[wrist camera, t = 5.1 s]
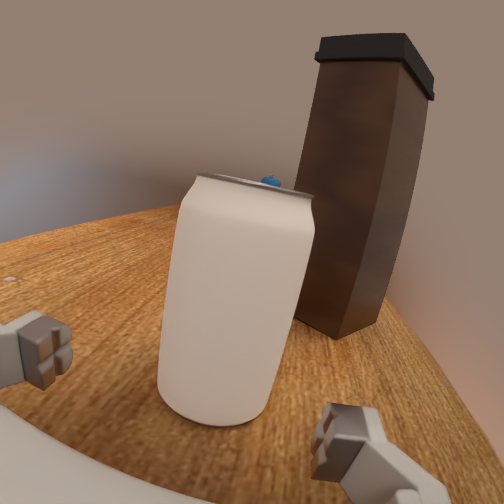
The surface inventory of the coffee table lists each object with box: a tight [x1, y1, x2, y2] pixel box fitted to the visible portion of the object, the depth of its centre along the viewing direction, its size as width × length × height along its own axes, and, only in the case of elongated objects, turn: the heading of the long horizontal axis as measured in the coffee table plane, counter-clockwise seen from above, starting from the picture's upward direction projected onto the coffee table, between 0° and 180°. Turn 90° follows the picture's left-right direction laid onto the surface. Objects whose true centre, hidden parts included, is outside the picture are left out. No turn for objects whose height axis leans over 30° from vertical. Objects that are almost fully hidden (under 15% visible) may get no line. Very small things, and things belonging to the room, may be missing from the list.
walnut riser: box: [293, 60, 429, 340], centre depth 32 cm, size 9×9×26 cm
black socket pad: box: [314, 33, 434, 101], centre depth 28 cm, size 10×10×3 cm
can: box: [157, 171, 315, 427], centre depth 16 cm, size 6×6×12 cm
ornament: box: [261, 174, 281, 187], centre depth 84 cm, size 5×5×15 cm
